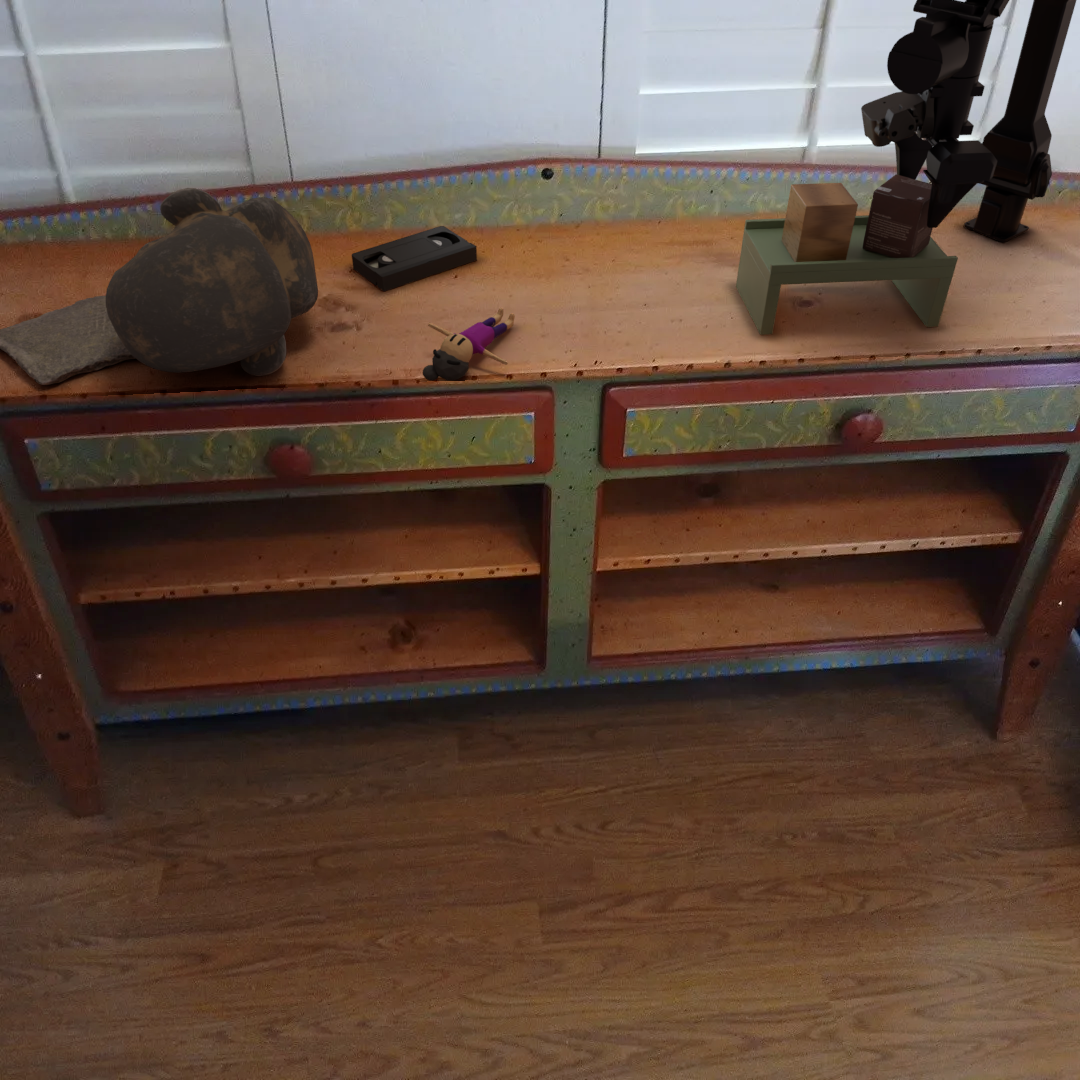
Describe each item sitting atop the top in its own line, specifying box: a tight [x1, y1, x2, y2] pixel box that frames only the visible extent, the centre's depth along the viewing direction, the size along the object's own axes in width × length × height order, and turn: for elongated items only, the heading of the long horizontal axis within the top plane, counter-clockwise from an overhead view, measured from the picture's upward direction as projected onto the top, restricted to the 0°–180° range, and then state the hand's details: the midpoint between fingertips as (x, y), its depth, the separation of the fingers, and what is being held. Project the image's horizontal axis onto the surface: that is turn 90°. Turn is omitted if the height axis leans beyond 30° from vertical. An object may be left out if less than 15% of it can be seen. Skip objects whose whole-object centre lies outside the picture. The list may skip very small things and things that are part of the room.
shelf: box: [735, 214, 959, 336], centre depth 129 cm, size 22×12×9 cm, turn 96°
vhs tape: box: [351, 225, 478, 292], centre depth 138 cm, size 14×8×2 cm, turn 128°
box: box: [862, 173, 934, 258], centre depth 124 cm, size 6×6×7 cm
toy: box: [422, 307, 516, 382], centre depth 122 cm, size 10×6×15 cm
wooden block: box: [782, 182, 859, 262], centre depth 123 cm, size 6×6×7 cm
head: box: [105, 187, 319, 377], centre depth 116 cm, size 21×23×25 cm
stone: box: [0, 295, 136, 386], centre depth 122 cm, size 17×3×15 cm
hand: (916, 209), depth 124 cm, fingers open, 9 cm apart
